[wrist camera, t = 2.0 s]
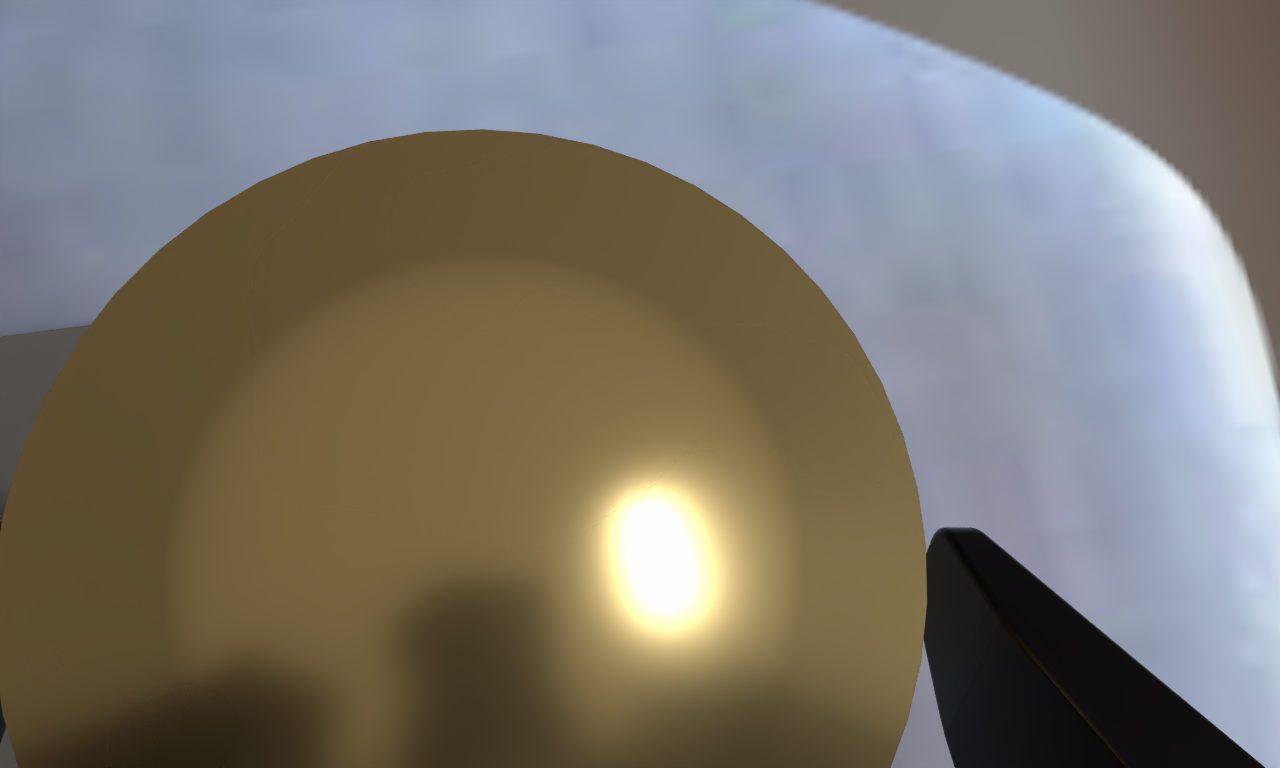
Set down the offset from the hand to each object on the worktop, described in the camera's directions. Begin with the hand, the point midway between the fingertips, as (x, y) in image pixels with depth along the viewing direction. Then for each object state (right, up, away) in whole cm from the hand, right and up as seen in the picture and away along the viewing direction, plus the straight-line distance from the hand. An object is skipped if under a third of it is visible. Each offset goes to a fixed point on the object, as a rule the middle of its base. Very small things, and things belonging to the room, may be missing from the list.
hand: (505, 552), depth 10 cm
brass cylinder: (-1, -1, +8) cm, 8 cm away
